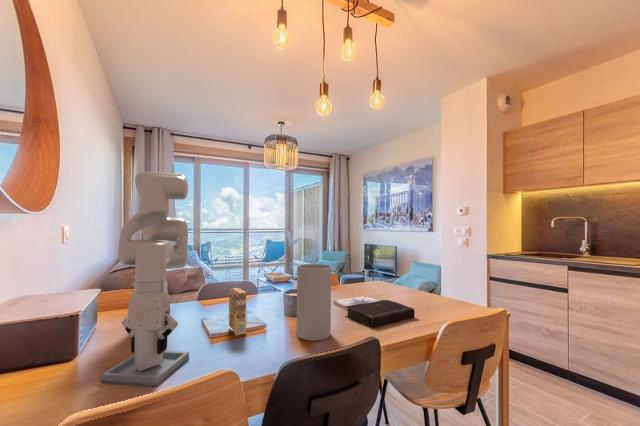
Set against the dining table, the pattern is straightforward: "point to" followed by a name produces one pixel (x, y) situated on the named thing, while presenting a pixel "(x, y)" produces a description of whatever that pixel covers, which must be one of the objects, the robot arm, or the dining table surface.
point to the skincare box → (146, 348)
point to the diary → (379, 313)
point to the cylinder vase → (313, 302)
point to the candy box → (237, 310)
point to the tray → (147, 377)
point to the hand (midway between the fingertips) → (149, 350)
